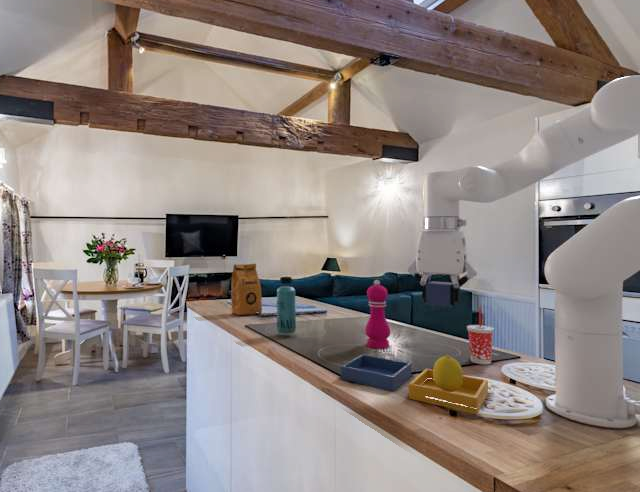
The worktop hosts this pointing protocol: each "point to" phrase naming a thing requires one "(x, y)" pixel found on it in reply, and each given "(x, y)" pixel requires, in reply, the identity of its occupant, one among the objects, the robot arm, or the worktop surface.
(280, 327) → the beverage bottle
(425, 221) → the robot arm
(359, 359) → the blue tray
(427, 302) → the navy block
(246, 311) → the coffee package
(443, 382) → the lemon
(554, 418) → the worktop surface
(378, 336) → the pepper mill
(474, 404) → the mustard tray
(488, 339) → the beverage cup
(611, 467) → the worktop surface
